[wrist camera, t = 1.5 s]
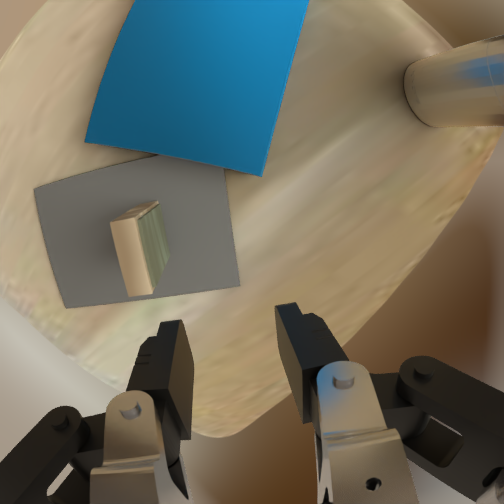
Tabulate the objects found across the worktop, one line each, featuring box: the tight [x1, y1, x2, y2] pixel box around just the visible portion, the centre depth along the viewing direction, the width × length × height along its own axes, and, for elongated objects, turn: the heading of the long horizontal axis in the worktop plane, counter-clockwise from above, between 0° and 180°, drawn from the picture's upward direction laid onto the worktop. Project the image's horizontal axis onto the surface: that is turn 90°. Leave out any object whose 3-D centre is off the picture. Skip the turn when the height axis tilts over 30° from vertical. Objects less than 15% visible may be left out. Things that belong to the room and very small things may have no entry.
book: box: [85, 0, 309, 177], centre depth 22 cm, size 17×4×25 cm
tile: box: [110, 201, 170, 297], centre depth 25 cm, size 2×6×9 cm, turn 7°
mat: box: [34, 155, 240, 308], centre depth 29 cm, size 22×15×1 cm
